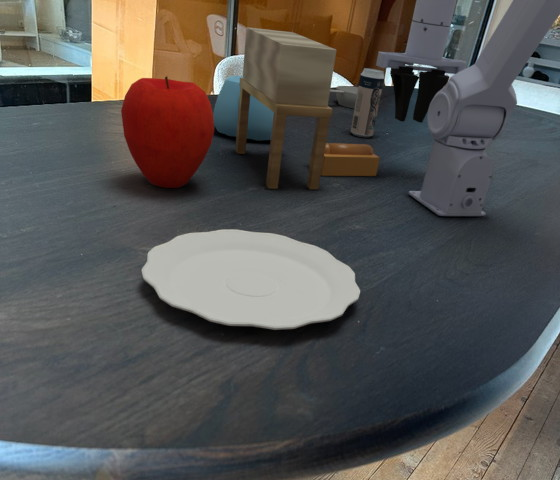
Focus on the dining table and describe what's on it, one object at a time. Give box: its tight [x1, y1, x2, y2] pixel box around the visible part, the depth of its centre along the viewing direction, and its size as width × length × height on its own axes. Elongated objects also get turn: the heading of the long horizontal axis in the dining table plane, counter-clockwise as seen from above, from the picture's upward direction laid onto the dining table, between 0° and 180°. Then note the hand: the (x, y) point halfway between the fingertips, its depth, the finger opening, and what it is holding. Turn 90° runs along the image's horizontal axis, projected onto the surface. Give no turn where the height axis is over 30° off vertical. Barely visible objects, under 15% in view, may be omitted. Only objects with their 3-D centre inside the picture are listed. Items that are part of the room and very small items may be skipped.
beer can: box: [350, 67, 386, 138], centre depth 117 cm, size 5×5×12 cm
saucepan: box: [330, 85, 359, 109], centre depth 144 cm, size 11×18×4 cm, turn 130°
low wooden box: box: [308, 142, 381, 177], centre depth 95 cm, size 5×10×4 cm, turn 112°
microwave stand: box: [235, 26, 337, 190], centre depth 88 cm, size 19×8×18 cm, turn 18°
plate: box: [141, 228, 361, 331], centre depth 58 cm, size 21×21×2 cm
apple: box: [120, 75, 215, 189], centre depth 77 cm, size 12×12×13 cm
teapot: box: [213, 75, 274, 142], centre depth 107 cm, size 13×11×18 cm
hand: (408, 120), depth 95 cm, fingers open, 3 cm apart
